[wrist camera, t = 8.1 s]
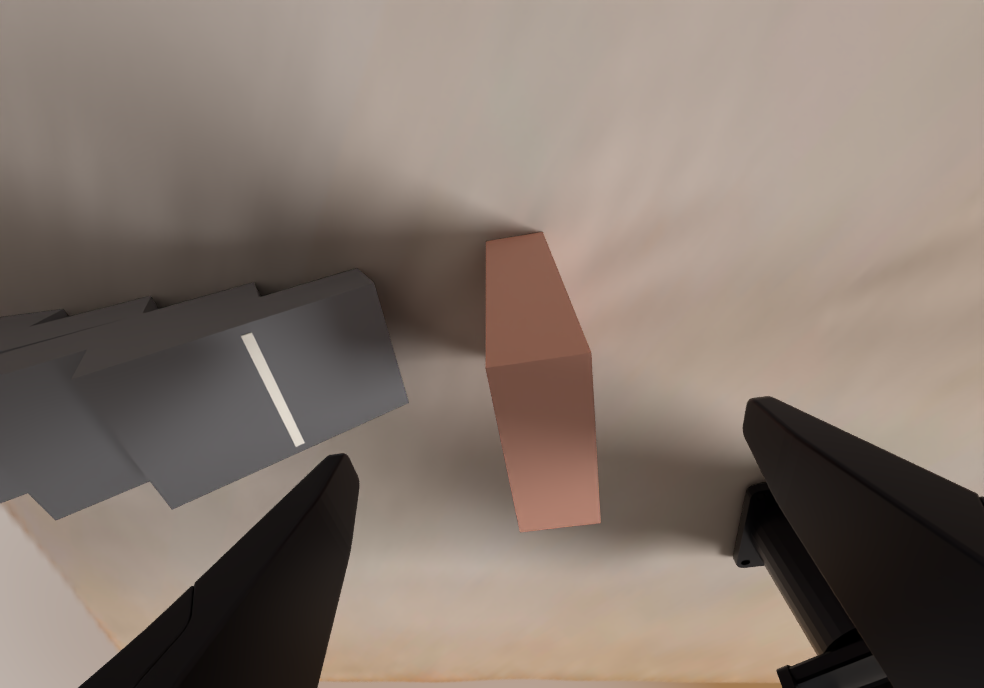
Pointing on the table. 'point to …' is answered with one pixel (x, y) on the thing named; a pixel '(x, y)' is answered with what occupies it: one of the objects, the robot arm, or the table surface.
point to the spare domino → (540, 386)
